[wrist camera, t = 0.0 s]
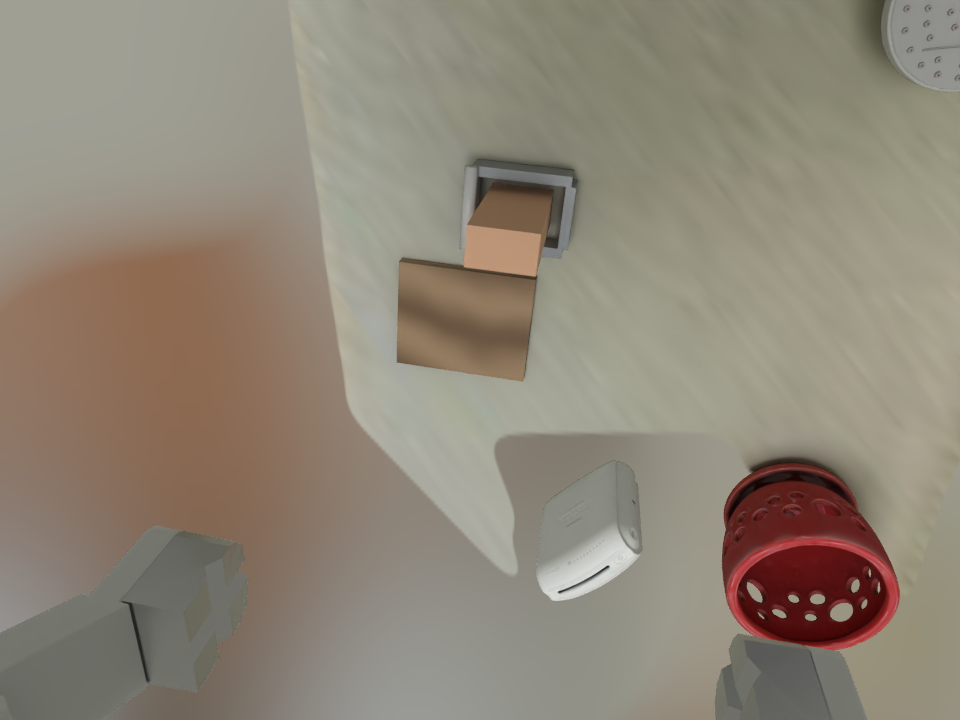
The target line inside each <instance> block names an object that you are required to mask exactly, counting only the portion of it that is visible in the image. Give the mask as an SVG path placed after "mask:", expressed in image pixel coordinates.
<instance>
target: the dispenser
mask: <svg viewBox="0 0 960 720" xmlns="http://www.w3.org/2000/svg"><path fill="white" fill-rule="evenodd" d="M573 175H574V170H568V169H559V168H551V167H542V166H533V165H525V164H516V163H507V162H499V161H490V160H482V159H478V160H477V161H476V162H475V163H474V165H467V166H465V176H464V191H463V206H462V221H461V236H460V249H461V250H465V242H466V228H467V224H468V222H469V220H470V219H471V217H472V216H473V214H474V213H475V211H476V209H477V208H478V206H479V203H480V190H481V178H482V177H486V178H494V179H503V180H511V181H520V182H528V183H536V184H545V185H553V186H562V187H566V191H565V198H564V205H563V213H562V220H561V227H560V235H559V239H552V238H546V240H545V244H544V248H543V251H542V255H541V256H543V257H551V258H559V259H561V257H562V252H563V250H568V244H569V237H570V230H571V223H572V217H573V210H574V203H575V196H576V189H577V182H578V181H575V180H573Z"/></svg>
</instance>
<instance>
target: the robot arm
mask: <svg viewBox="0 0 960 720" xmlns="http://www.w3.org/2000/svg"><path fill="white" fill-rule="evenodd" d="M244 560H245V557H244V552H243V545H242V544H240V543H238V542H235V541H230V540H225V539H220V538H216V537H211V536H206V535H202V534H197V533H192V532H187V531H180V530H175V529H170V528H166V527H161V526H155V527H152V528H150V529H148V530H147V531H146V532H145V533H144V534H143V535H142V536H141V537H140V538H139V540H138V541H137V542H136V543H135V544H134V545H133V546H132V548H131V549H130V550H129V551H128V552H127V553H126V554H125V555H124V557H123V558H122V559H121V560H120V561H119V562H118V564H116V566H115V567H114V568H113V569H112V570H111V571H110V572H109V574H108V575H107V576H106V577H105V578H104V579H103V580H102V582H101V583H100V584H99V585H98V586H97V587H96V588H95V590H94V591H93V592H92V593H91V594H90V595H89V596H87V595H81V594H80V595H78V596H76V597H74V598H72V599H70V600H68V601H66V602H64V603H61V604H59V605H57V606H55V607H53V608H51V609H49V610H47V611H45V612H43V613H41V614H39V615H37V616H34V617H32V618H30V619H28V620H26V621H24V622H22V623H20V624H18V625H16V626H14V627H12V628H10V629H7V630H5V631H3V632H1V633H0V720H103V719H104V718H105V717H107V716H108V715H110V714H111V713H112V712H114V711H115V710H117V709H118V708H119V707H121V706H122V705H123V704H125V703H126V702H127V701H129V700H130V699H132V698H133V697H134V696H136V695H137V694H139V693H140V692H141V691H143V690H144V689H145V688H147V684H152V685H158V686H164V687H169V688H175V689H180V690H186V691H191V692H199V690H200V688H201V687H202V685H203V683H204V682H205V680H206V678H207V677H208V675H209V674H210V672H211V670H212V669H213V667H214V665H215V664H216V662H217V660H218V658H219V654H218V647H217V644H218V643H220V642H222V641H223V640H225V639H227V638H228V637H230V636H232V635H233V633H234V631H235V630H236V628H237V626H238V624H239V623H240V621H241V618H242V615H243V612H244V609H245V606H246V603H247V595H248V584H247V578H246V577H245V576H244V574H243V573H242V572H241V571H240V570H239V567H240V566H241V564H242V563H243V561H244ZM729 653H730V659H731V664H730V665H728V666H726V667H724V668H723V669H722V670H721V673H720V676H719V680H718V682H717V688H716V697H715V716H716V720H867V717H866V714H865V712H864V709H863V706H862V704H861V701H860V698H859V696H858V693H857V690H856V687H855V685H854V682H853V679H852V677H851V674H850V671H849V669H848V666H847V663H846V660H845V658H844V657H843V656H842V654H841V653H840V652H839V651H833V650H828V649H822V648H816V647H811V646H802V645H801V644H795V643H789V642H783V641H778V640H772V639H766V638H760V637H754V636H749V635H743V634H737V635H736V636H735V637H734V638H733V640H732V643H731V646H730V648H729Z"/></svg>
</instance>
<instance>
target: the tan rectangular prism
mask: <svg viewBox="0 0 960 720" xmlns="http://www.w3.org/2000/svg"><path fill="white" fill-rule="evenodd" d="M553 193H554V190H545V189H537V188H529V187H520V186H512V185H504V184H495V183H493V184H492V186H491V187H490V189H489V191H488V192H487V194H486V195H485V197H484V198H483V200H482V202H481V203H480V205H479V206H478V208H477V209H476V211H475V213H474V214H473V216H472V217H471V219H470V220H469V222H468V224H467V228H466V242H465V256H464V267H467V268H474V269H482V270H489V271H497V272H504V273H512V274H519V275H527V276H534V277H536V274H537V270H538V266H539V263H540V259H541V255H542V251H543V248H544V244H545V240H546V236H547V233H548V229H549V224H550V216H551V208H552V201H553Z"/></svg>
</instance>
